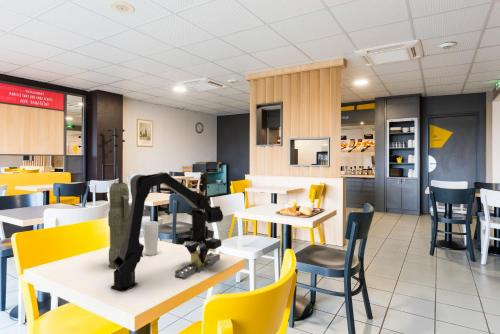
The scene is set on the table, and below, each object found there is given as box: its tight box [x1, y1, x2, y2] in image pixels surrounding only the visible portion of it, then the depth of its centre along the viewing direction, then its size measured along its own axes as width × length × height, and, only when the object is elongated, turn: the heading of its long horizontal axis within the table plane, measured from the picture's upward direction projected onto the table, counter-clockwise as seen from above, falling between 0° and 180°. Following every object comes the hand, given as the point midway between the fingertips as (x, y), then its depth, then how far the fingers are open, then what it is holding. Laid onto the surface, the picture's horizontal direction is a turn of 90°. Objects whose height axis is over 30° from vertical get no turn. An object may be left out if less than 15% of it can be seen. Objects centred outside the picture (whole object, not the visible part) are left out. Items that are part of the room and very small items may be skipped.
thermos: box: [107, 182, 131, 270], centre depth 130 cm, size 9×12×35 cm
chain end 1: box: [174, 262, 205, 280], centre depth 121 cm, size 11×7×2 cm, turn 154°
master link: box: [190, 248, 207, 267], centre depth 127 cm, size 6×4×6 cm, turn 154°
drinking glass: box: [143, 220, 159, 256], centre depth 145 cm, size 7×7×15 cm
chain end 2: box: [206, 252, 221, 268], centre depth 133 cm, size 11×7×2 cm, turn 154°
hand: (199, 262), depth 127 cm, fingers closed on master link, 3 cm apart
